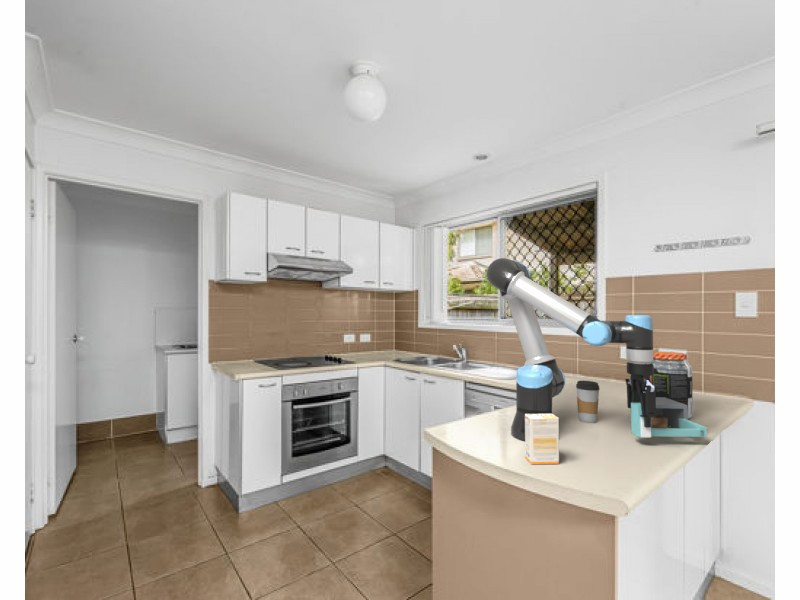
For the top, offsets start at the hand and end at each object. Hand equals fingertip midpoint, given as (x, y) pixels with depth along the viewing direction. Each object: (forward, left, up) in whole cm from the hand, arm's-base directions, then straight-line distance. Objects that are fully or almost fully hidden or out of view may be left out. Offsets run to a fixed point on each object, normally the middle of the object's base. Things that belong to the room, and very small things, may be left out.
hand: (641, 434), depth 125 cm
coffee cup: (-6, +26, -3) cm, 26 cm away
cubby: (+16, +18, -3) cm, 24 cm away
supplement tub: (+32, +36, -3) cm, 48 cm away
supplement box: (-38, -15, -3) cm, 41 cm away
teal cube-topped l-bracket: (+9, +3, 0) cm, 10 cm away
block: (+14, +16, -3) cm, 21 cm away
